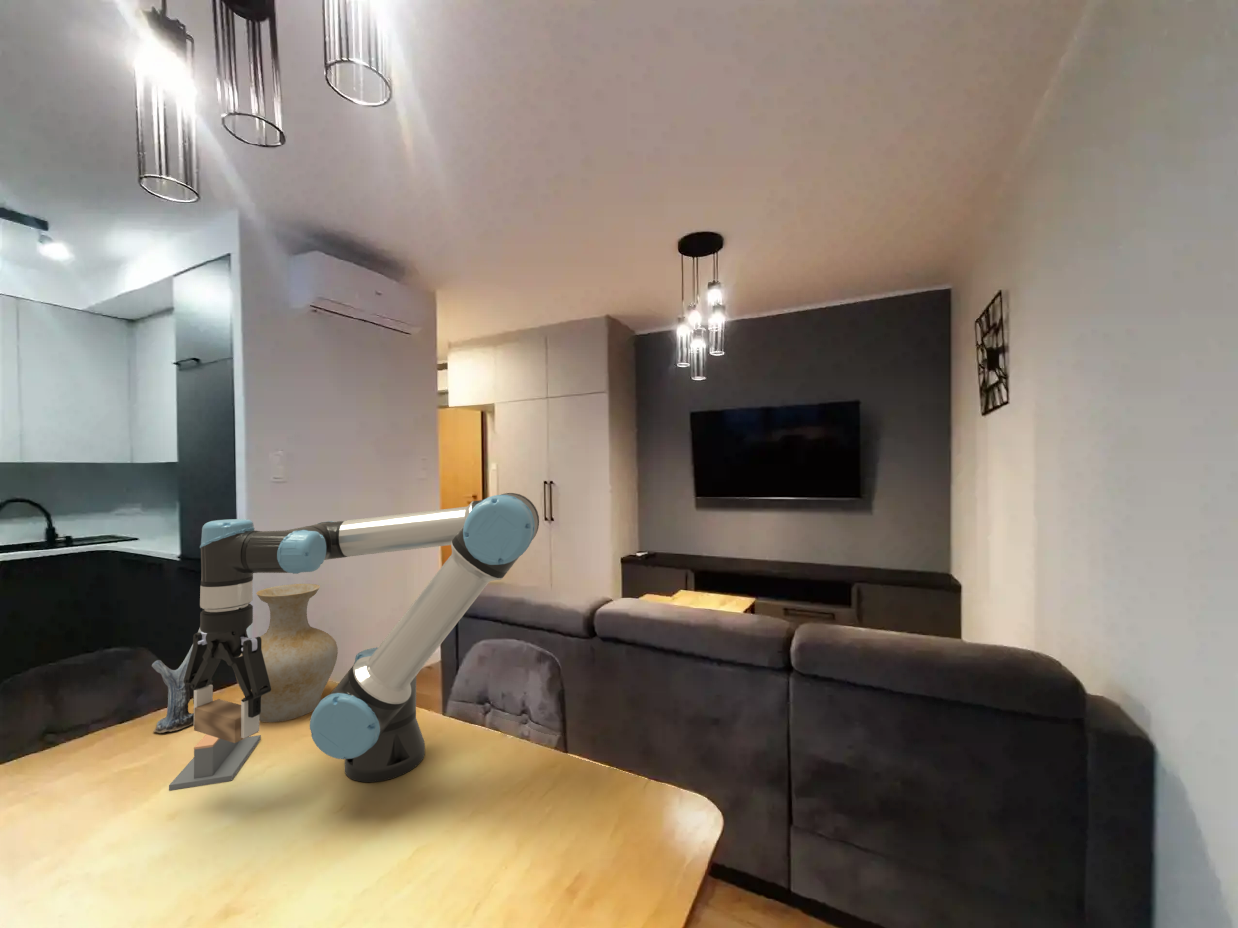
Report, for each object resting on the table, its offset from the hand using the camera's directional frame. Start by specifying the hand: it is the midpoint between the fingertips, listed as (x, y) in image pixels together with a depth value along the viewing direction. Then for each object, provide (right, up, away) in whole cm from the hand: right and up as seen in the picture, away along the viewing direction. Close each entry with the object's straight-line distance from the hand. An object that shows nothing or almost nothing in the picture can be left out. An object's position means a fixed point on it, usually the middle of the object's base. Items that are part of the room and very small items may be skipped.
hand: (226, 728), depth 92 cm
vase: (-13, -15, +38) cm, 43 cm away
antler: (-34, -14, +31) cm, 48 cm away
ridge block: (-12, -14, +14) cm, 23 cm away
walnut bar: (0, 0, 0) cm, 0 cm away
